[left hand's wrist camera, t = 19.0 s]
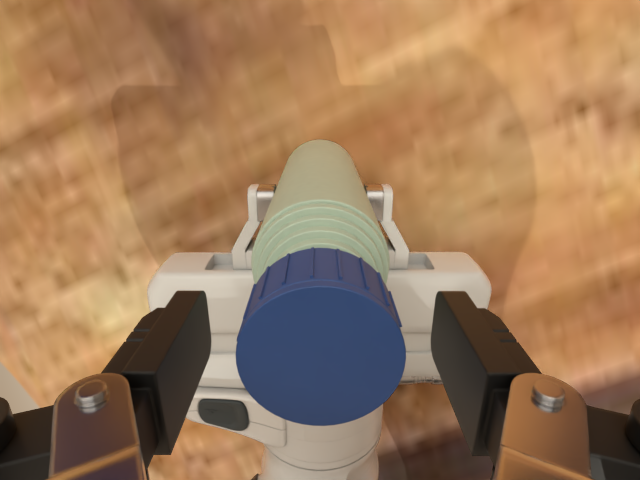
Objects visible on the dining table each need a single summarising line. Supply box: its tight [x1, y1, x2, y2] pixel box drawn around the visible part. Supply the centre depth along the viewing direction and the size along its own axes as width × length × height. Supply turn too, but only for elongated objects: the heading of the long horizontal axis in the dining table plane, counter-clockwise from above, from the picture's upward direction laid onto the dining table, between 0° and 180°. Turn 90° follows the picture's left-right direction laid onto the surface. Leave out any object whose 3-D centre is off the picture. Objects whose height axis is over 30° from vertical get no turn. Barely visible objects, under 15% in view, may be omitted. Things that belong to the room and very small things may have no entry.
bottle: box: [251, 139, 390, 285], centre depth 20 cm, size 5×5×20 cm
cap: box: [236, 247, 406, 426], centre depth 11 cm, size 4×4×2 cm
